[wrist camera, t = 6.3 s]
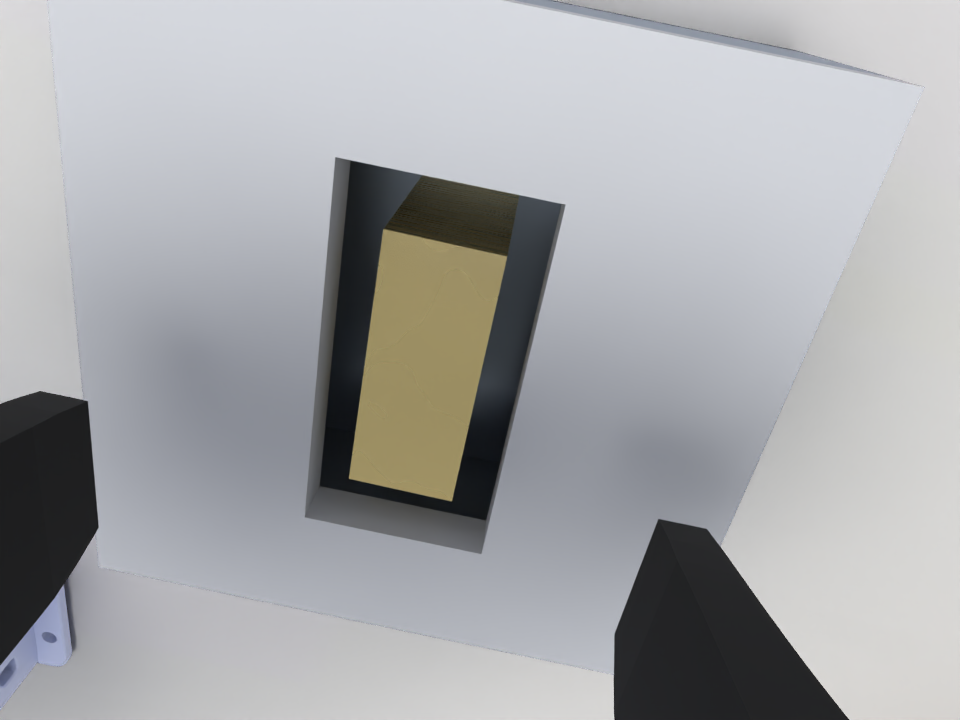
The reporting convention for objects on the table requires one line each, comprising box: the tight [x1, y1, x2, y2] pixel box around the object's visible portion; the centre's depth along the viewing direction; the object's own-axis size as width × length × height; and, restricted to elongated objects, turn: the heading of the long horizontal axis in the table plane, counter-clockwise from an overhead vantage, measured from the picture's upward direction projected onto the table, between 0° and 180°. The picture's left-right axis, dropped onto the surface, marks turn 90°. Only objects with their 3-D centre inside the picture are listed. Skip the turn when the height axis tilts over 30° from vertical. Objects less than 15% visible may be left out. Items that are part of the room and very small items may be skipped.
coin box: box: [47, 0, 925, 675], centre depth 15 cm, size 12×12×6 cm
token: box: [349, 175, 519, 501], centre depth 15 cm, size 5×2×5 cm, turn 169°
